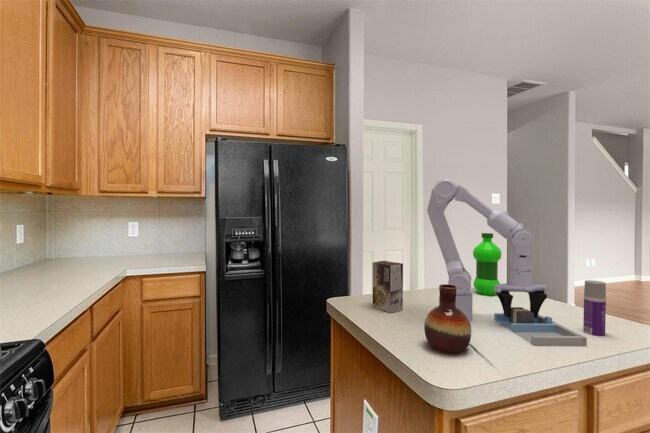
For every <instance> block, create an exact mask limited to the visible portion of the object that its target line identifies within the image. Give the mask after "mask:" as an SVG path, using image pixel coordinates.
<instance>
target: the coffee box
mask: <svg viewBox="0 0 650 433" xmlns="http://www.w3.org/2000/svg"><path fill="white" fill-rule="evenodd" d="M371 269H372V308H374V309H377V310H381V311H383V312H387V313H389V314H391V313H396V312H400V311H401V312H402V311H403V309H404V305H403V304H404V303H403V302H404V300H403V299H404V292H403V291H404V290H403V288H404V284H403V283H404V263H400V262H395V261H390V260H389V261H388V260H380V261H379V260H378V261H373V262H372V268H371Z"/></svg>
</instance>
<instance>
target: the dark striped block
mask: <svg viewBox="0 0 650 433" xmlns="http://www.w3.org/2000/svg"><path fill="white" fill-rule="evenodd" d="M509 322H510V323H531V324H534V313H532V312H530V309H527V308H524V307H521V306H516V307H514V306H511V317H510V318H509Z"/></svg>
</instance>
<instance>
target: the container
mask: <svg viewBox="0 0 650 433" xmlns="http://www.w3.org/2000/svg"><path fill="white" fill-rule="evenodd" d="M606 285H607V284H606V282H604V281H600V280H591V279H589V280H584V287H583V289H584V290H583V293H584V294H583V326H582V327H583V328H582V331H583V333H585V334H587V335H591V336H595V337H606V320H607V319H606V318H607V317H606V314H607V312H606V310H607V296H606V295H607V291H606V290H607V289H606V288H607V287H606Z"/></svg>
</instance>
